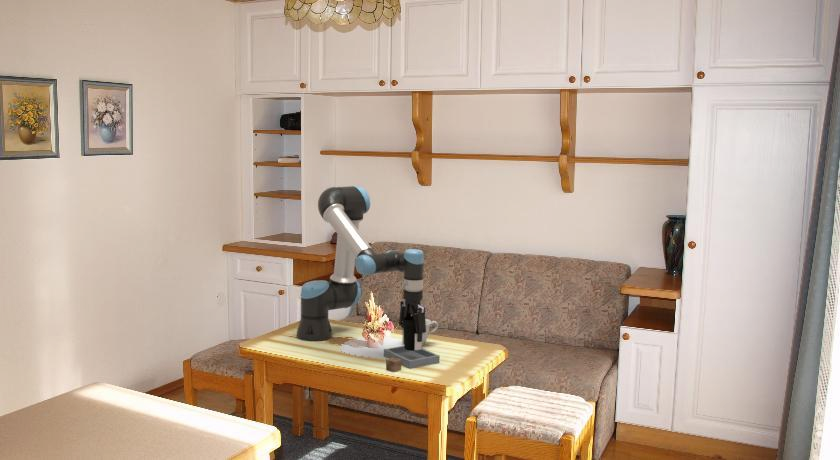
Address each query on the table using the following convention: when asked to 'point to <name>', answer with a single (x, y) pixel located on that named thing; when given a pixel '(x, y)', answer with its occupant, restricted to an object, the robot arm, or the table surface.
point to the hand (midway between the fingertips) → (411, 346)
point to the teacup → (425, 335)
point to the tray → (412, 356)
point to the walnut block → (393, 364)
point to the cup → (409, 333)
